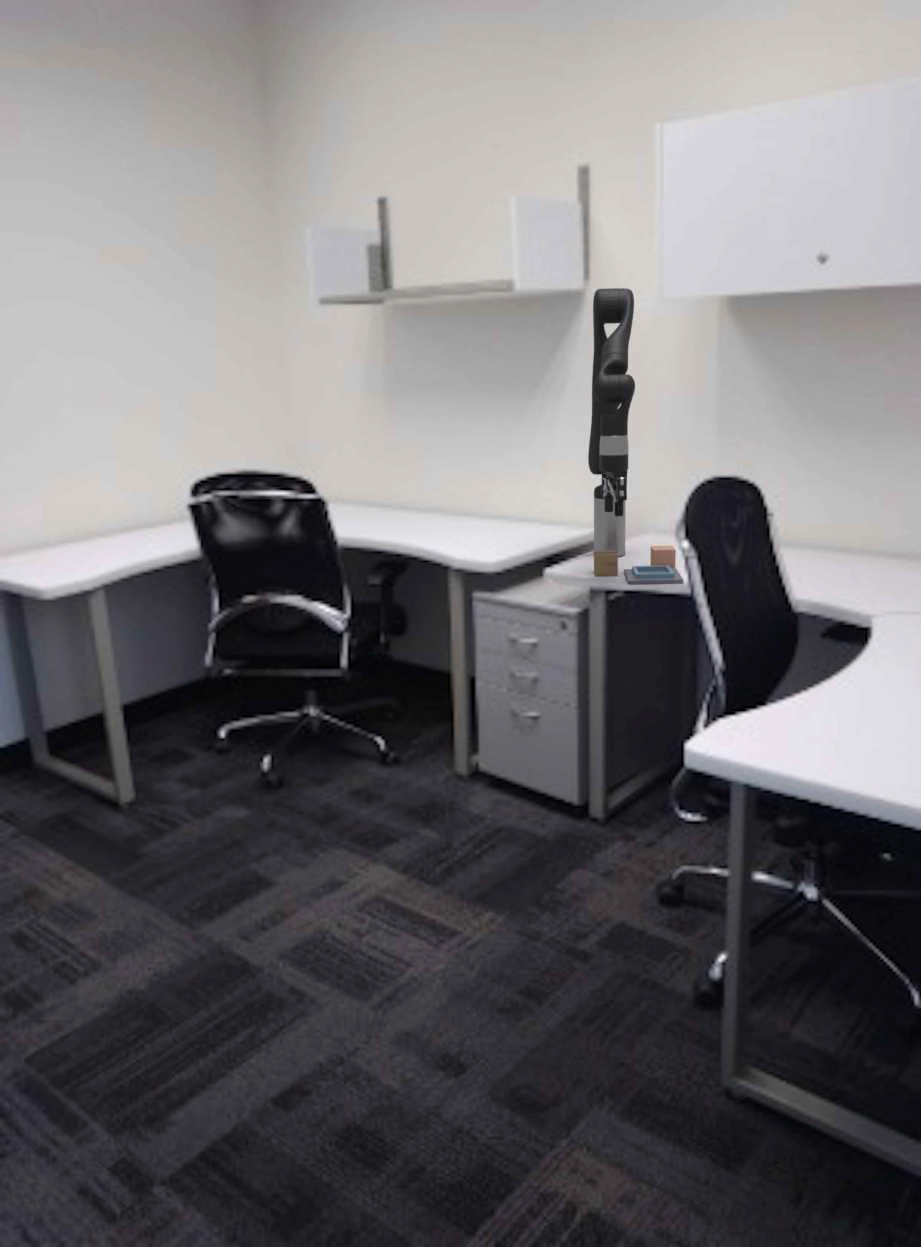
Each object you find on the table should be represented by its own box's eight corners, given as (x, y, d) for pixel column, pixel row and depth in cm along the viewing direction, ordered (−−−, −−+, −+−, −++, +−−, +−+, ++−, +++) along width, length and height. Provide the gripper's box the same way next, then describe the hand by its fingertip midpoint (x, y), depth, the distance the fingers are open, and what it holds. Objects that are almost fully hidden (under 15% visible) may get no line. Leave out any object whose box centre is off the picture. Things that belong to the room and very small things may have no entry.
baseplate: (623, 572, 266) (623, 564, 266) (675, 571, 265) (675, 563, 264) (628, 584, 253) (628, 576, 252) (683, 583, 252) (683, 575, 251)
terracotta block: (650, 567, 272) (650, 545, 271) (672, 566, 272) (672, 545, 270) (652, 571, 267) (653, 550, 265) (675, 571, 266) (675, 549, 264)
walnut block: (593, 572, 269) (593, 550, 267) (615, 571, 268) (615, 550, 267) (595, 577, 263) (595, 555, 261) (617, 576, 263) (617, 554, 261)
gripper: (636, 454, 249) (636, 516, 254) (619, 449, 263) (618, 509, 267) (608, 455, 248) (608, 518, 252) (592, 451, 262) (592, 511, 266)
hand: (613, 513), depth 260 cm, fingers open, 8 cm apart
